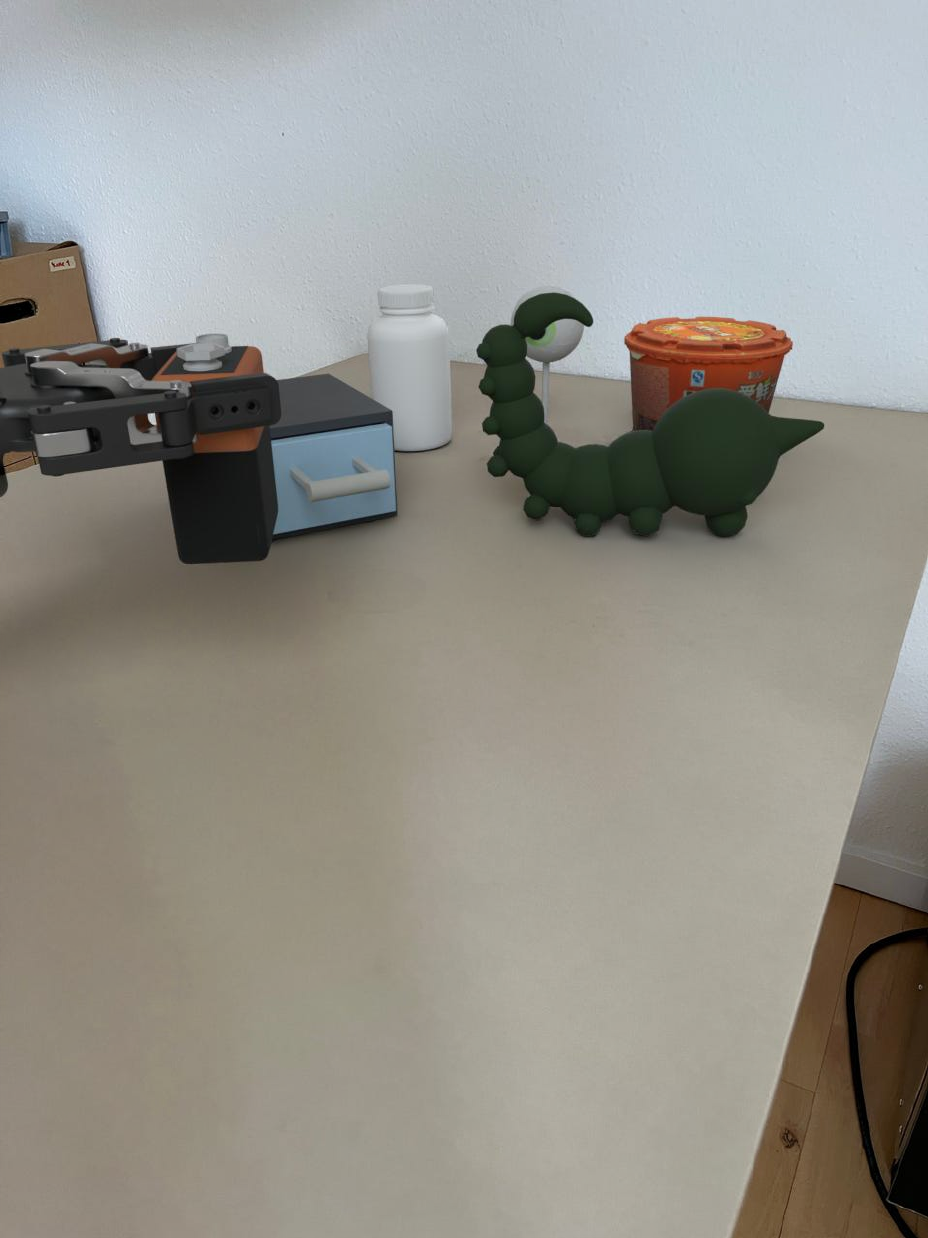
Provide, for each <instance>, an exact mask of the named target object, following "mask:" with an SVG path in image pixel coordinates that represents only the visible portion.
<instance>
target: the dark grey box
mask: <svg viewBox="0 0 928 1238" xmlns="http://www.w3.org/2000/svg"><path fill="white" fill-rule="evenodd" d="M276 380H277V382H278V385H279V394H280V404H281V418H280V420H279V421H278V422H277V423H276V424H274V425H269V426H270V435H271V439H272V438H279V437H286V436H292V435H299V434H306V433H312V432H319V431H326V430H333V429H339V428H346V427H353V426H359V425H366V424H372V425H378V424H385V423H386V424H388V425H390V426H391V427H392V438H393V458H394V478H395V498H396V511H393V512H388V513H383V514H378V515H372V516H367V517H362V518H357V519H352V520H346V521H341V522H336V523H331V524H326V525H320V526H315V527H310V528H305V529H299V530H294V531H289V532H284V533H279V534H273V537H272V541H273V540H278V539H282V538H287V537H293V536H298V535H303V534H309V533H314V532H319V531H325V530H330V529H335V528H339V527H340V528H341V527H344V526H345V527H346V526H350V525H355V524H361V523H365V522H370V521H377V520H381V519H386V518H392V517H396V516H398V498H397V497H398V496H397V495H398V494H397V476H396V457H395V456H396V454H395V450H394V433H393V421H392V420H393V411H392V410H390V409H389V408H387V407H385V406H384V405H382V404H380V403H378V402H377V401H375V400H373V399H372V397H370V396H368V395H366V394H365V393H364V392H361V391H359V390H358V389H356V388H354V387H353V386H351V385H349V384H347V383H346V382H344V381H342V380H341V379H339V378H337V377H335V376H334V375H332V374H331V373H323V374H322V373H321V374H314V375H305V376H298V377H291V378H290V377H289V378H282V379H281V378H280V379H276Z"/></svg>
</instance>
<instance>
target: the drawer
mask: <svg viewBox="0 0 928 1238" xmlns="http://www.w3.org/2000/svg"><path fill="white" fill-rule="evenodd" d="M271 444H272V454H273V463H274V472H275V482H276V491H277V500H278V515H277V520H276V524H275V528H274V533H273V534H279V533H284V532H289V531H294V530H299V529H305V528H310V527H315V526H320V525H326V524H331V523H336V522H341V521H346V520H352V519H357V518H362V517H367V516H372V515H378V514H383V513H388V512H393V511H396V498H395V478H394V458H393V438H392V427H391V426H390V425H388V424H386V423H385V424H378V425H372V424H366V425H359V426H353V427H346V428H339V429H333V430H326V431H319V432H312V433H306V434H299V435H292V436H286V437H279V438H272V439H271Z"/></svg>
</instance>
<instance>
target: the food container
mask: <svg viewBox="0 0 928 1238" xmlns="http://www.w3.org/2000/svg"><path fill="white" fill-rule="evenodd" d="M623 340H624V346H626V348H627V350H628V351H629V371H630V389H631V390H630V392H631V394H630V395H631V409H632V410H631V414H632V431H636V430H651V431H653V429H654V427H655V425H656V423H657V422H658V420H659V419H660V417H661V416H662V415H663V414H664V412H665V411H666V410H667V409H668V408H669V407H670V406H672V405H673V404H674V403H675V402H677V401H678V400H679V399H681V398H683V397H685V396H687V395H689V394H691V393H694V392H697V391H701V390H704V389H711V388H723V389H729V390H733V391H737V392H740V393H742V394H744V395H746V396H748V397H750V398H752V399H753V400H755V401H756V402H757V403H759V404H760V405H761V406H762V407H763V408H764V409H765V410H766V411H767V412H768V413H769V414H770V410H771V407H772V404H773V403H772V402H773V399H774V395H775V392H776V388H777V386H778V385H777V384H778V382H779V377H780V374H781V371H782V367H783V363H784V359H785V356H786V355H788V354H789V353H790V352H791V350H793V346H794V342H793V341H792V338H791V337H788V336H787V332H786V331H785V330H784V329H777V327H776V325H774V324H771V323H766V322H761V321H757V320H745V321H744V320H743V321H742V320H736V319H735V318H733V317H722V316H721V317H719V316H696V317H695V318H680V317H677V316H675V317H663V318H655V319H649V320H647V322H646V323H642V322H638V323H637V324H635V325H633V327H632V328H631V331H629V332H628V333H626V335H625V336H624V338H623ZM788 356H790V355H788Z"/></svg>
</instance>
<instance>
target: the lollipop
mask: <svg viewBox="0 0 928 1238" xmlns="http://www.w3.org/2000/svg"><path fill="white" fill-rule="evenodd" d="M553 292H555V293H561V294H566V295H569V296H571V297H573V298H575V299H576V300H578V299H577V298H576V297H575V296H574V294H572V293H571V292H570V291H569V290H567V289H566V288H563V287H561V286H556V285H550V284H547V285H540V286H537V287H533V288H532V289H530V290H528V291H527V292H525V293H524V294H523V295H521V296H520V297H519V299H518V300H517V302H516V304H515V306H514V307H513V311H512V314H511V317H510V325H511V326H513V324H514V315H515V312H516V310H517V309H518V307H519V306H520V304H522V303H523V302H524V301H526V300H527V299H529V298H531V297H534V296H536V295H539V294H543V293H553ZM584 331H585V325H583V324H582V323H580V322H578V321H577V320H573V319H562V320H558V321H555V322H553V323H552V324H550V325H549V326H548V327H547V328H546V329H545V330H544V331H542V332H541V333H539V334H537V335H535V336H532V337H526V338H525V339H526V342H527V355H526V358H529V359H531V360H532V361H535V362H538V363H542V373H541V375H542V376H541V378H542V379H541V402H542V404H543V407H544V417H545V420H544V423H546V424H547V425H548V426H549V403H550V401H549V397H550V368H551V367H550V366H551V363H555V362H557V361H558V362H559V361H561V360H563V359H565V358H566V357H568V356H569V355H570V354H571V353H573V352H574V351H575V349H576V348H577V347H578V345H579V344H580V343H581V341H582V338H583V335H584Z"/></svg>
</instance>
